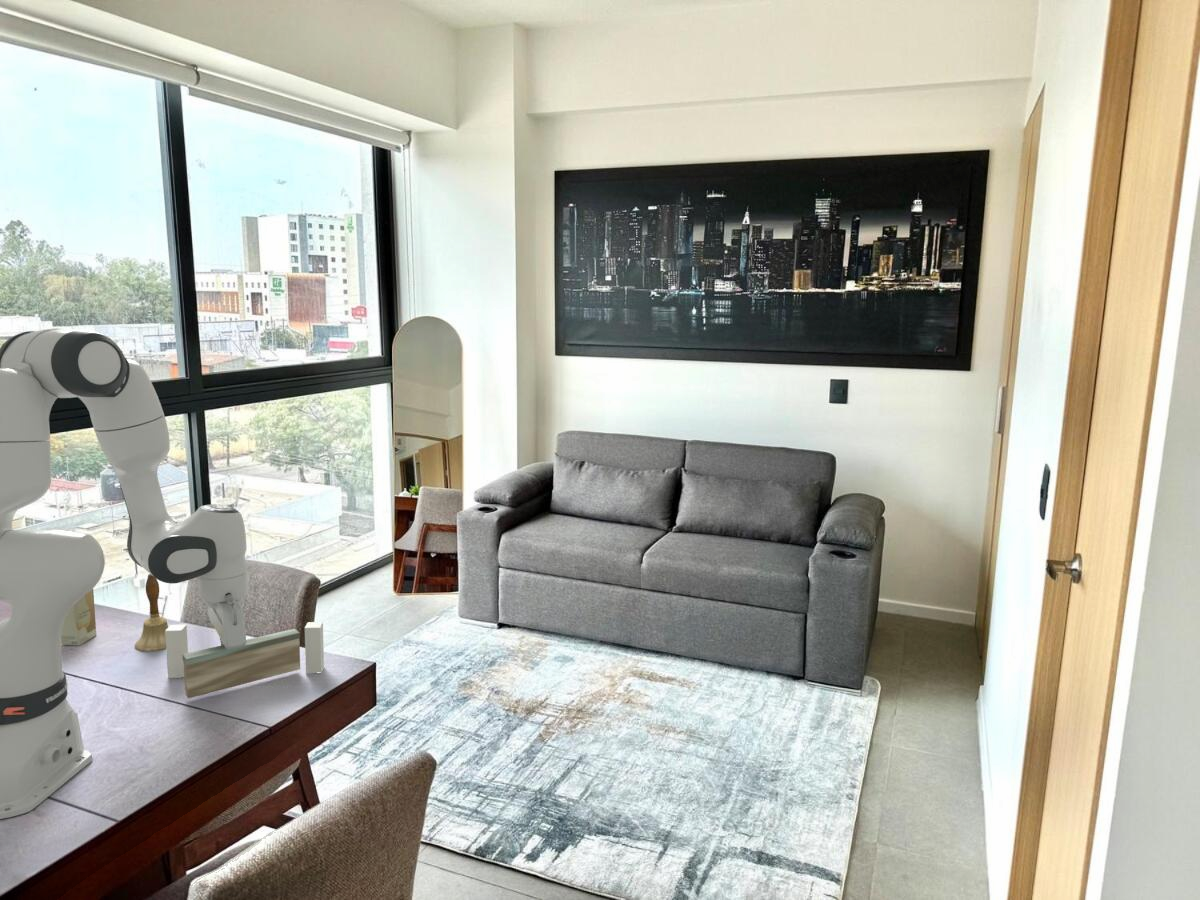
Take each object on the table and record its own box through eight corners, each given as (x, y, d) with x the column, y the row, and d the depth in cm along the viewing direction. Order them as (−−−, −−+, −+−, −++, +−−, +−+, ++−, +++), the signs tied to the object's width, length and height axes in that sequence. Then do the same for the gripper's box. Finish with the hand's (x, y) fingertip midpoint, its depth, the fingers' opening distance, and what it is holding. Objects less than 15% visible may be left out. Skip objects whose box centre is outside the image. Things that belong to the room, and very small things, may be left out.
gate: (300, 669, 168) (299, 632, 167) (188, 699, 154) (186, 659, 153) (296, 665, 170) (294, 628, 168) (184, 693, 156) (182, 654, 155)
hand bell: (174, 649, 178) (169, 578, 175) (130, 653, 175) (125, 581, 172) (180, 634, 185) (176, 566, 183) (139, 638, 183) (134, 569, 180)
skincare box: (79, 646, 178) (75, 592, 175) (59, 645, 178) (55, 591, 176) (98, 634, 184) (94, 582, 182) (78, 633, 184) (74, 581, 182)
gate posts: (321, 673, 169) (320, 627, 167) (168, 678, 164) (165, 630, 163) (324, 667, 172) (322, 621, 170) (173, 671, 167) (170, 624, 166)
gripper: (252, 600, 153) (256, 669, 156) (231, 569, 170) (234, 632, 172) (216, 606, 150) (220, 677, 152) (197, 574, 166) (201, 638, 169)
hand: (227, 653), depth 162 cm, fingers closed
